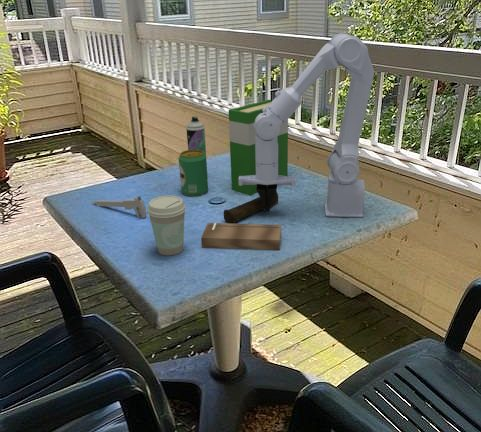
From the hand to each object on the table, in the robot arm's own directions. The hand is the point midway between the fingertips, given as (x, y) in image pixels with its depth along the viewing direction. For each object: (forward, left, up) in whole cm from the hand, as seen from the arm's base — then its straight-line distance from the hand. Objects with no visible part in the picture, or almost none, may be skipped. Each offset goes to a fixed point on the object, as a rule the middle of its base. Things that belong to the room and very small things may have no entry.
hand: (267, 210), depth 127 cm
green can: (+23, -15, -1) cm, 27 cm away
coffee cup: (+21, +21, -1) cm, 30 cm away
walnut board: (+5, +15, -1) cm, 16 cm away
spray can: (+24, -26, -1) cm, 35 cm away
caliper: (+41, 0, -2) cm, 41 cm away
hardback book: (+4, -22, -1) cm, 22 cm away
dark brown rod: (+4, -1, -2) cm, 4 cm away
